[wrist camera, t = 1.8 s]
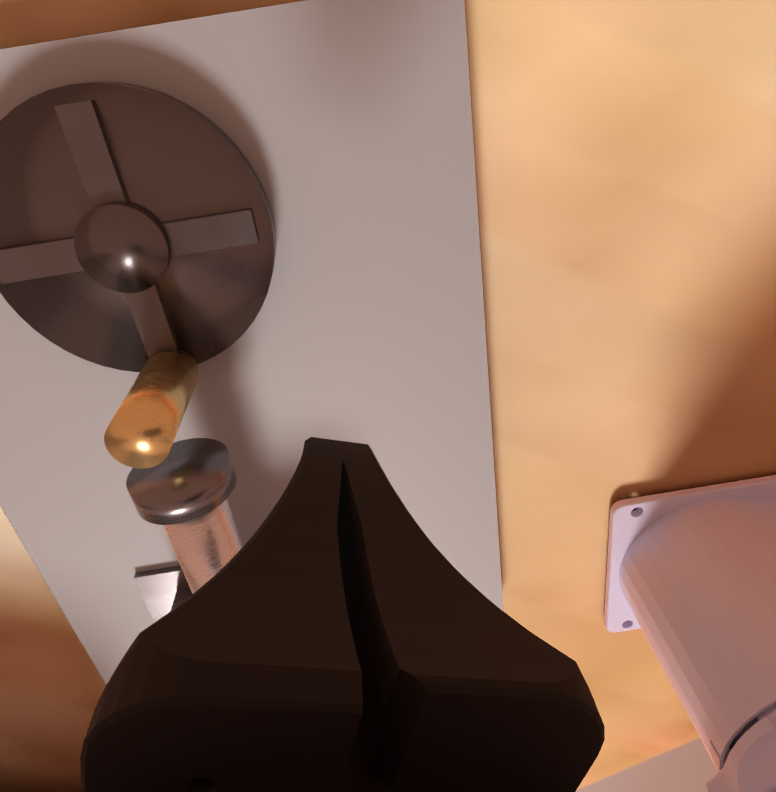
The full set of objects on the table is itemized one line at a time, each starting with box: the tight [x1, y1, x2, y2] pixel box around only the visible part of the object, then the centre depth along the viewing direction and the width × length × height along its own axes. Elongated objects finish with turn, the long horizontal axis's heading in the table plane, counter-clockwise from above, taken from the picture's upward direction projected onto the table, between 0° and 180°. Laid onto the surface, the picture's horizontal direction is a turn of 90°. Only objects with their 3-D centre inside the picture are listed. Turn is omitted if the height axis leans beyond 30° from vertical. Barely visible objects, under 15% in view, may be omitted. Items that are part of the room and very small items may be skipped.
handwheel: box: [0, 81, 276, 469], centre depth 16 cm, size 8×9×5 cm
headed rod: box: [126, 438, 243, 594], centre depth 22 cm, size 3×14×3 cm, turn 8°
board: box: [0, 0, 503, 684], centre depth 22 cm, size 18×24×1 cm
